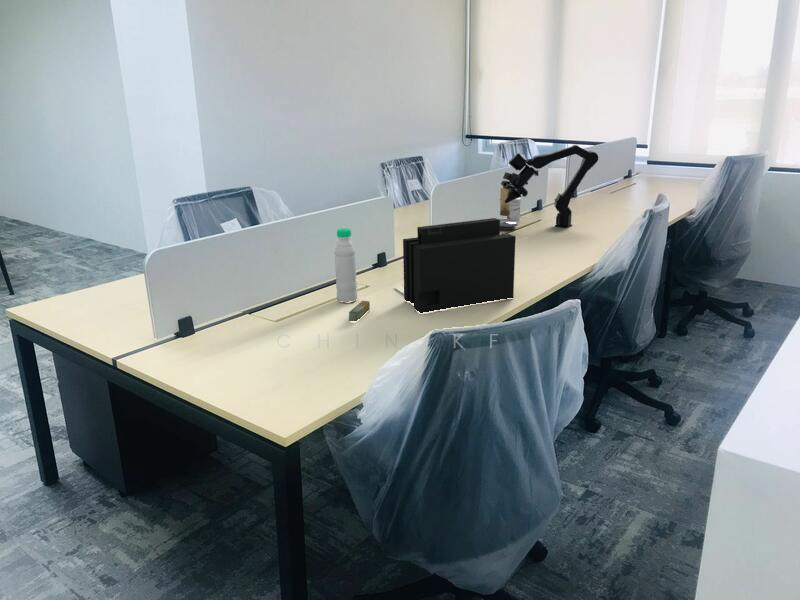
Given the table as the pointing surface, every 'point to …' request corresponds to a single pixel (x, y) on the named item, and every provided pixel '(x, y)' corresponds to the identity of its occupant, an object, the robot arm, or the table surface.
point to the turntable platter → (508, 223)
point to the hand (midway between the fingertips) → (502, 201)
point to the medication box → (359, 310)
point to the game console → (458, 265)
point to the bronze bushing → (504, 206)
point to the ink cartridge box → (515, 209)
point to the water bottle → (345, 267)
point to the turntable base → (506, 228)
